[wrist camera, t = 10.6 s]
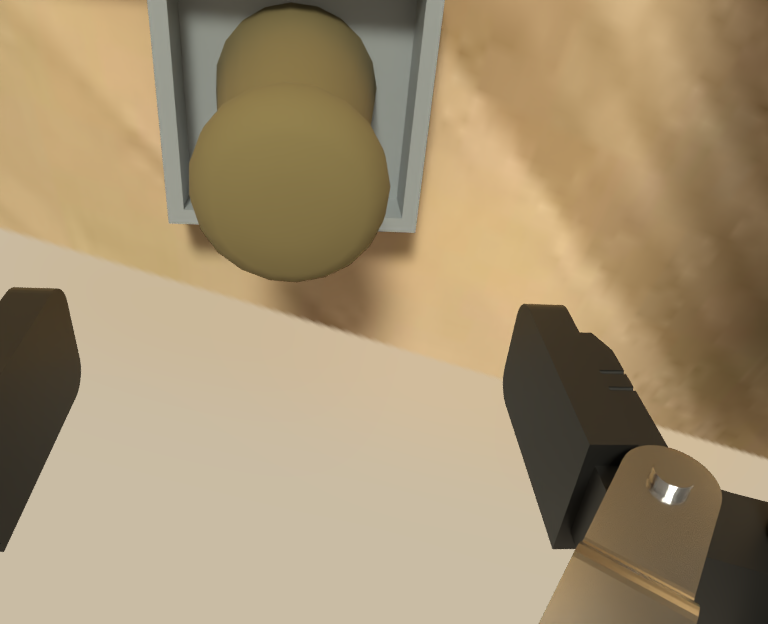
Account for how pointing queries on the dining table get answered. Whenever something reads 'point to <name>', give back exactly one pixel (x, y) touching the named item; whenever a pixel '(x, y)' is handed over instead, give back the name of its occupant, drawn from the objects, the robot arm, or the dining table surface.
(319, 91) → the olive pawn
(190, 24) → the grey tray
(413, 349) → the dining table surface
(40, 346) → the robot arm
